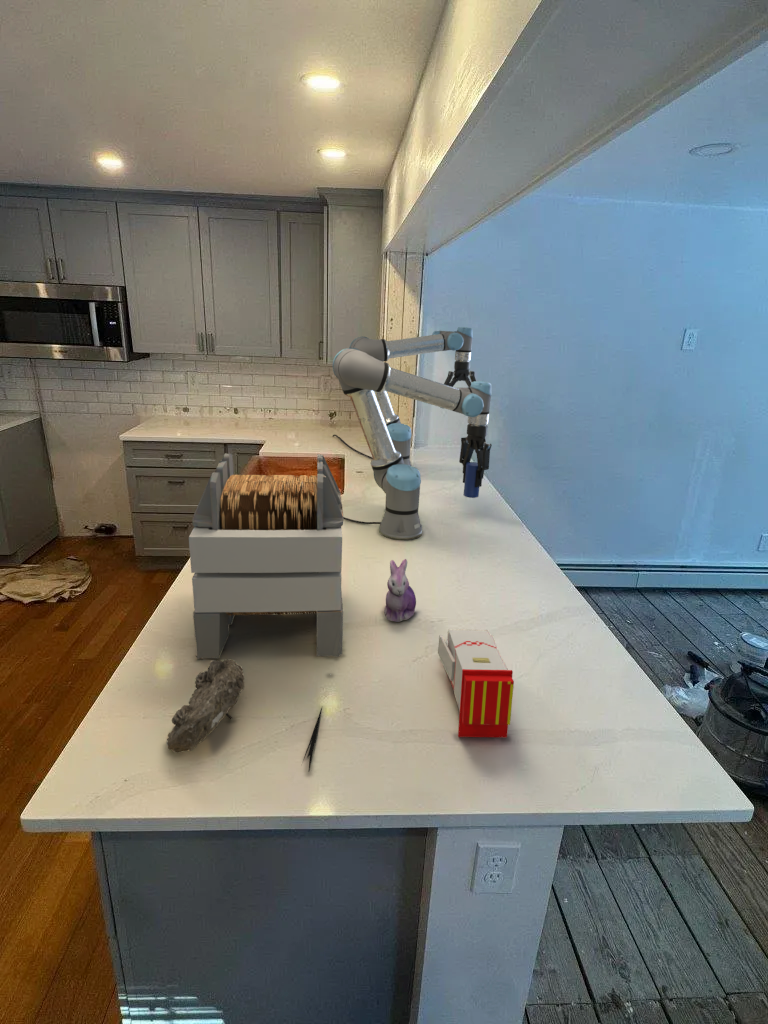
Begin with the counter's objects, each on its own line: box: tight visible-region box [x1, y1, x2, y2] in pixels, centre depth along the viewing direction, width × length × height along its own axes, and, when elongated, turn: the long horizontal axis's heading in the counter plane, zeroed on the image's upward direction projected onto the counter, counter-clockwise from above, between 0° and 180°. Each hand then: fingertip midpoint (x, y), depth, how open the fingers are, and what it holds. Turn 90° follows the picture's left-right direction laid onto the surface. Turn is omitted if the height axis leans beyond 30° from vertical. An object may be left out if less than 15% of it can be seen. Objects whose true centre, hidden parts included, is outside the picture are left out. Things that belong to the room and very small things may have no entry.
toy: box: [437, 628, 515, 738], centre depth 117 cm, size 12×13×30 cm
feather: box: [301, 673, 332, 771], centre depth 108 cm, size 2×28×2 cm
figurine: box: [384, 558, 417, 623], centre depth 145 cm, size 9×10×15 cm
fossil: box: [166, 658, 245, 754], centre depth 106 cm, size 22×10×15 cm
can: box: [463, 461, 480, 499], centre depth 217 cm, size 6×6×13 cm
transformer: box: [188, 452, 345, 660], centre depth 135 cm, size 34×33×41 cm
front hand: (471, 484), depth 217 cm, fingers closed on can, 6 cm apart
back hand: (458, 405), depth 280 cm, fingers open, 13 cm apart
